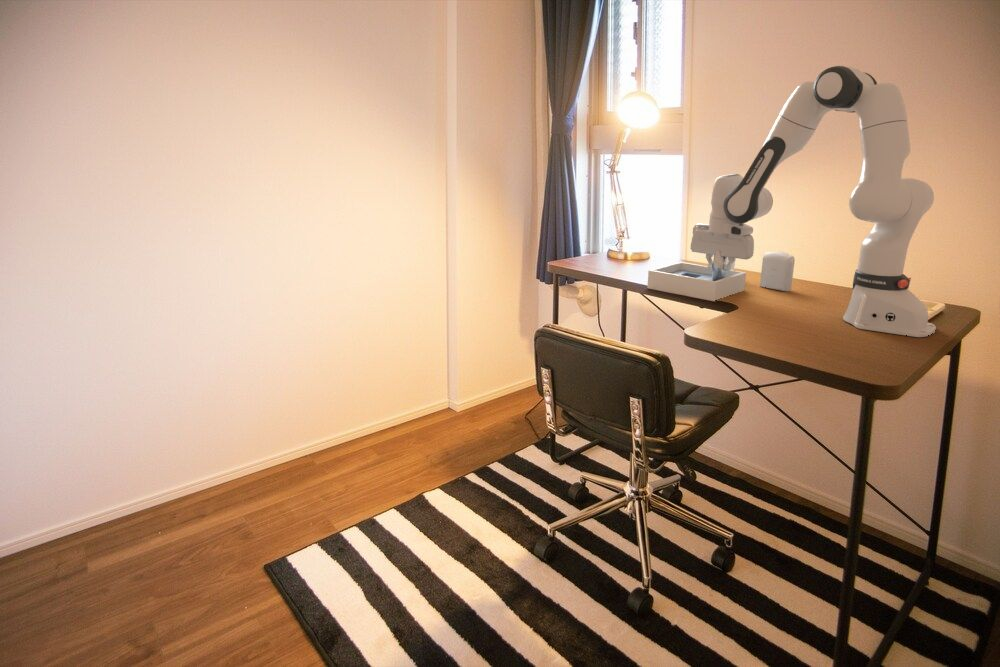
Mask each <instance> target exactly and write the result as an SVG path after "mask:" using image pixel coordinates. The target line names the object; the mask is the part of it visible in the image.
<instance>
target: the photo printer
mask: <svg viewBox="0 0 1000 667" xmlns="http://www.w3.org/2000/svg"><path fill="white" fill-rule="evenodd" d="M795 261H796V260H795V256H793V255H792V254H789V253H788V252H785V251H779V250H774V251H773V250H772V251H766V252H765V253H764V254H763V256H762V264H761V274H760V283H759V287H761V288H765V287H766V288H767V289H770V290H771V289H772V290H777V291H782V292H790V291H791V290H792V285H793V277H794V268H795Z"/></svg>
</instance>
